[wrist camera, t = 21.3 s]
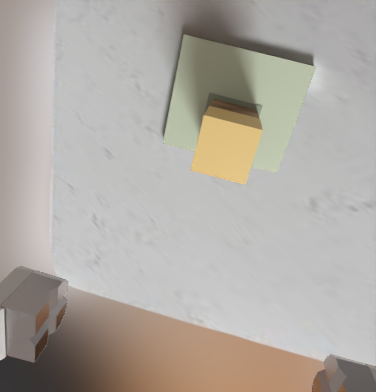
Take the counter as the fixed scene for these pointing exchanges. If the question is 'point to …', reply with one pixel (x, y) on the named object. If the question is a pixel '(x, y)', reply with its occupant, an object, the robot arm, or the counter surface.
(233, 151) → the ochre block
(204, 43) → the plate
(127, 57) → the counter surface
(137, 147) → the counter surface
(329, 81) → the counter surface
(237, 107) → the walnut block
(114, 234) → the counter surface
